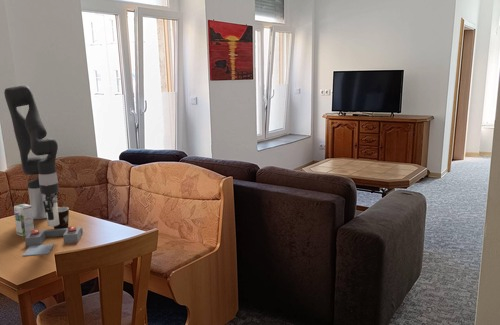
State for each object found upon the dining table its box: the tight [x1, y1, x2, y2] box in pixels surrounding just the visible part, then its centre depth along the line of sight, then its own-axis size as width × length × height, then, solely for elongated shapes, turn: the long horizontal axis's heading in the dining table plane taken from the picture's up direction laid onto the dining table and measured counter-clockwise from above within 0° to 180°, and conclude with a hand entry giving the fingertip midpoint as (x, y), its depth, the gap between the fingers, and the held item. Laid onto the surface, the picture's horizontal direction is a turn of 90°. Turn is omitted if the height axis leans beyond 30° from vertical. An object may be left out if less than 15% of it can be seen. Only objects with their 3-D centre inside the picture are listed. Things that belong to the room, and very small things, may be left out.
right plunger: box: [68, 225, 76, 233], centre depth 184 cm, size 4×4×4 cm
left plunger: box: [30, 228, 40, 236], centre depth 181 cm, size 4×4×4 cm
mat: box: [22, 243, 55, 257], centre depth 173 cm, size 10×10×1 cm
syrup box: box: [13, 203, 35, 238], centre depth 190 cm, size 6×6×14 cm
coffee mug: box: [53, 206, 70, 229], centre depth 196 cm, size 12×9×10 cm
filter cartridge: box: [44, 198, 60, 228], centre depth 181 cm, size 5×5×12 cm
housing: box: [24, 226, 84, 247], centre depth 184 cm, size 12×22×4 cm, turn 102°
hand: (52, 217), depth 181 cm, fingers closed on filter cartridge, 5 cm apart
